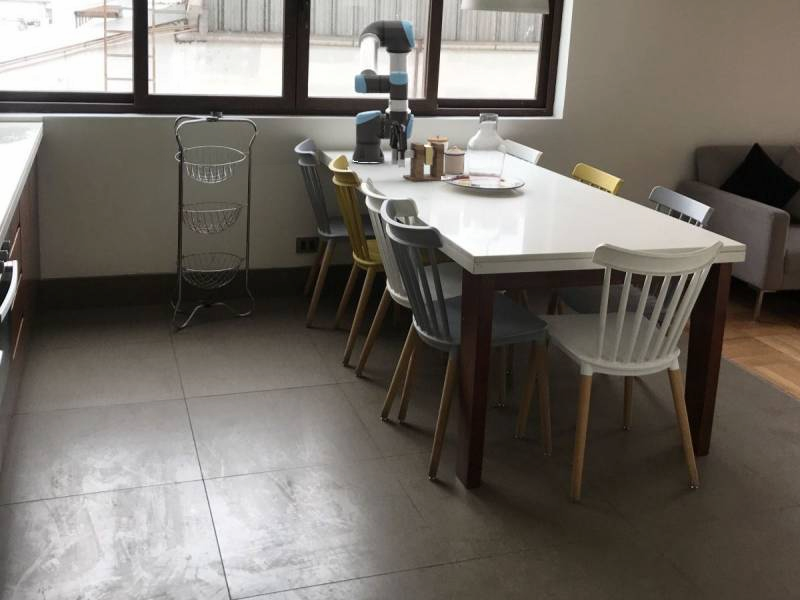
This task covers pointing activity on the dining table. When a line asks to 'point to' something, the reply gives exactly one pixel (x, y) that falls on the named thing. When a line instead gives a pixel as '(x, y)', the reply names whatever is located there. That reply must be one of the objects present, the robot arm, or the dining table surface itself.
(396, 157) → the shaft
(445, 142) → the lidded jar
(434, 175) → the wooden pillar stand
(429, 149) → the block
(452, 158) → the teacup with lid
